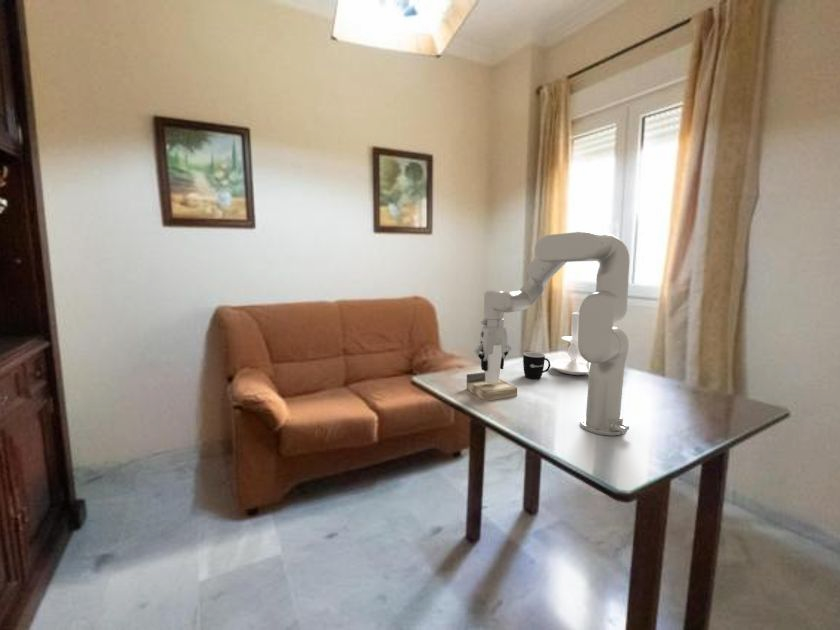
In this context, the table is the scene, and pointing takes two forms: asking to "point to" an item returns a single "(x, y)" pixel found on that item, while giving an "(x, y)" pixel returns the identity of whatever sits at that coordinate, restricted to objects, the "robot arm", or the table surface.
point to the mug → (534, 364)
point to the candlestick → (572, 353)
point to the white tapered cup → (493, 365)
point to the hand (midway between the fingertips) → (492, 368)
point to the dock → (489, 387)
